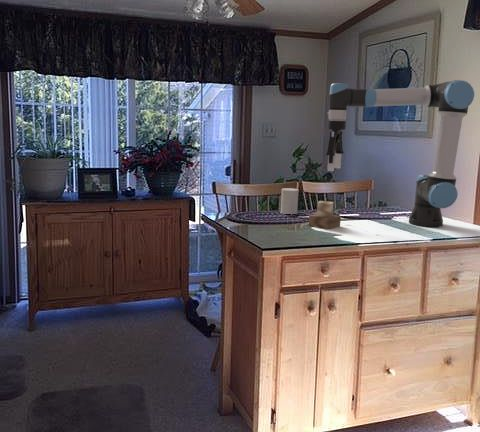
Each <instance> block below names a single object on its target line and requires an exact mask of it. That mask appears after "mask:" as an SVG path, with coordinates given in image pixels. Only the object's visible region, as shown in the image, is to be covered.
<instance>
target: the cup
mask: <svg viewBox="0 0 480 432" xmlns="http://www.w3.org/2000/svg"><path fill="white" fill-rule="evenodd" d="M299 190H300V189H297V188H291V187H289V188H288V187H287V188H286V187H285V188H284V187H283V188H281V198H280V214H281V213H283V214H291V215H290V216H293V215H292V214H297V215H298V203H299V192H300V191H299ZM283 214H282V215H283Z"/></svg>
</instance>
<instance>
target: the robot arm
mask: <svg viewBox="0 0 480 432" xmlns="http://www.w3.org/2000/svg"><path fill="white" fill-rule="evenodd" d="M474 98H475V90H474V88H473V86H472V84H470V83H469V82H468V81H465V80H461V79H457V80H456V79H454V80H452V81H445V82H441V83H435V84H426V85H424V87H404V88H403V87H401V88H375V89H373V88H351V87H349V84H348V83H341V82H334V83H331V84H330V87H329V97H328V99H329V100H328V111H327V113H326V114H327V115H328V121H327V129H328V130H331V131H330V132H329V140H328V145H327V151H326V154H325V155H326V156H327V170H326V171H328V172H334V171H335V169H341V168H342V154H344V149H343V146H344V145H343V130H346V124H347V122H346V120H347V108H348V107H350V108H360V107H361V108H372V107H392V106H393V107H394V106H395V107H397V106H422V105H423V106H424V107H425V108H438V111H437V112H438V114H439V115H440V121H439V122H440V123H439V127H438V134H437V140H436V147H435V153H434V158H433V159H434V161H433V165H432V166H433V167H432V171H431V173H429V174H419V175H417V178H416V182H415V183H416V184H415V185H416V187H415V195H414V196H415V197H414V206H413V208H412V210H411V213H410V215H409V218H408V223H409V224H411V225H413V226H414V225H415V226H417V227H424V226H429V227H428V228H440V227H439V226H441V227H443V225H444V218H443V215H442V211H441V209H447V208H450V207H451V206H452V205H454V203H455V202H456V201H457V200H458V194H459V193H458V189H457V187H456V183H457V182H456V181H457V177H456V176H455V175H454V172H455V165H456V159H457V154H458V149H459V148H458V147H459V143H460V142H459V141H460V136H461V129H462V123H463V118H464V117H466V116H467V115H468V112H469V111H468V110H469V106H470V105H471V104H472V103H473V102H474Z"/></svg>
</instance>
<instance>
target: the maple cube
mask: <svg viewBox="0 0 480 432" xmlns="http://www.w3.org/2000/svg"><path fill="white" fill-rule="evenodd" d="M333 213H334V201H328V200H327V201H326V200H319V201H318V202H317V209H316V214H317V216H319V217H329V218H331V216H332V215H334V214H333Z"/></svg>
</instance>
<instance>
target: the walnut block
mask: <svg viewBox="0 0 480 432" xmlns="http://www.w3.org/2000/svg"><path fill="white" fill-rule="evenodd" d="M341 218H342V216H341V215H336V214H333V215H332V216H331V218H329V217H319V216H317V213H315V214H314V213H313V214H309V216H308V227H314V228H318V229H324V230H332V229H336V228H340V227H341Z"/></svg>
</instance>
